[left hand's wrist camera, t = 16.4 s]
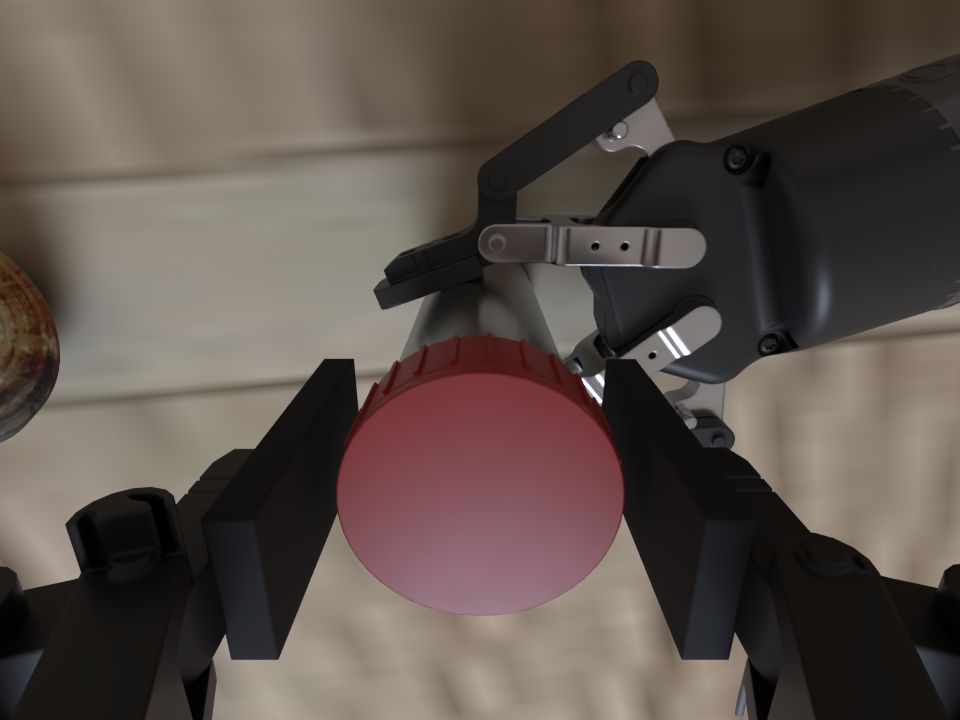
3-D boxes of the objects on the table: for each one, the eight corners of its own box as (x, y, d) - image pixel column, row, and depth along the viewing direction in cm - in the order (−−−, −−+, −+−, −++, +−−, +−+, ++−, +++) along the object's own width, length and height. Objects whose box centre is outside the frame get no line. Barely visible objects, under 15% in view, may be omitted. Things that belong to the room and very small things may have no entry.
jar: (550, 276, 25) (649, 443, 10) (499, 362, 26) (524, 612, 12) (459, 225, 24) (426, 329, 10) (411, 316, 26) (321, 525, 11)
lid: (488, 275, 11) (490, 301, 9) (655, 455, 12) (689, 512, 10) (303, 443, 12) (269, 498, 10) (474, 587, 13) (473, 660, 12)
